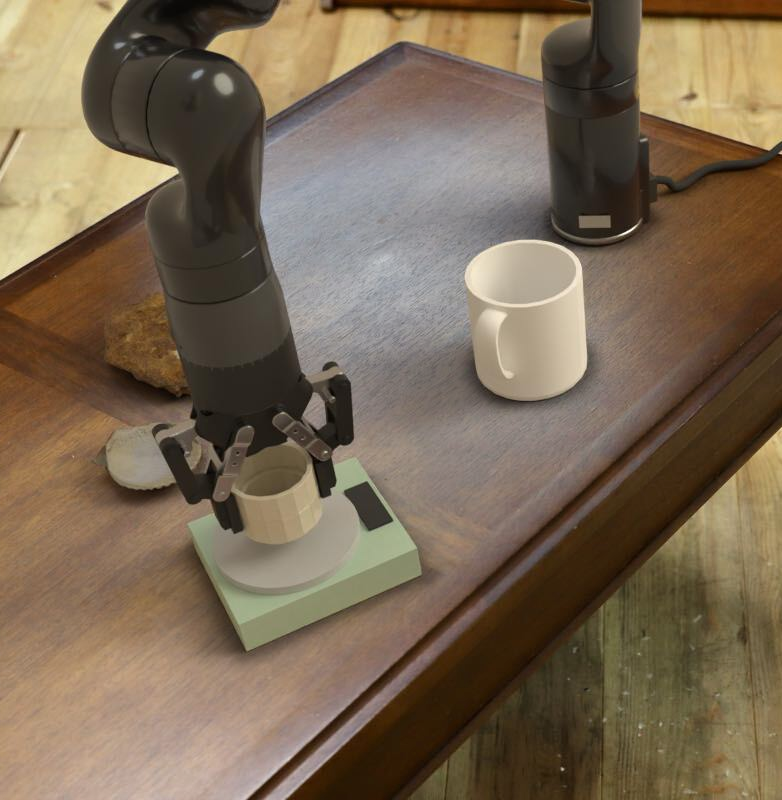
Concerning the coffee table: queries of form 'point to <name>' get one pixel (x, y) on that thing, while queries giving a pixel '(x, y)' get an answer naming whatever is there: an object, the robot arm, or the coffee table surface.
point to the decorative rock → (145, 344)
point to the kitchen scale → (309, 562)
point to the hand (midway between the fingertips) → (279, 507)
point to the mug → (527, 319)
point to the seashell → (140, 458)
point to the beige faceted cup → (278, 494)
